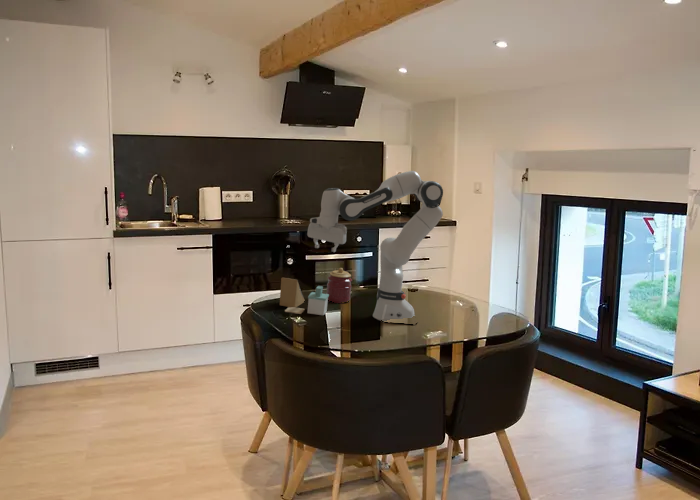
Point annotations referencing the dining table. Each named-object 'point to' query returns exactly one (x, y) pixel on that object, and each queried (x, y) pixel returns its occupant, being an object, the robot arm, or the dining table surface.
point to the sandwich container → (290, 293)
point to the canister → (339, 286)
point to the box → (317, 306)
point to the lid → (318, 294)
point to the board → (294, 310)
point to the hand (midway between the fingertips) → (325, 249)
